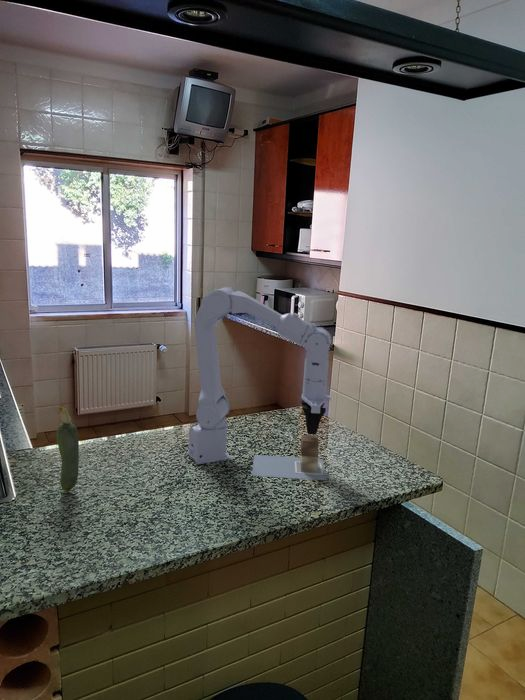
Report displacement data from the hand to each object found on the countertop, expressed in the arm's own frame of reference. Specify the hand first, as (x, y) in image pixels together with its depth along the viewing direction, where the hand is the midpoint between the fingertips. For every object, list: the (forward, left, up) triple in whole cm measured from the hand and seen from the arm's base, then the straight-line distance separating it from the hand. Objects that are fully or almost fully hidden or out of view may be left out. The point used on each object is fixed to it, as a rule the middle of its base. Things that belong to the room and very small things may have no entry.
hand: (311, 431), depth 125 cm
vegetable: (-55, +10, -11) cm, 57 cm away
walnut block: (0, 0, -6) cm, 6 cm away
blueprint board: (-4, +2, -10) cm, 12 cm away
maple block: (0, 0, -10) cm, 10 cm away
